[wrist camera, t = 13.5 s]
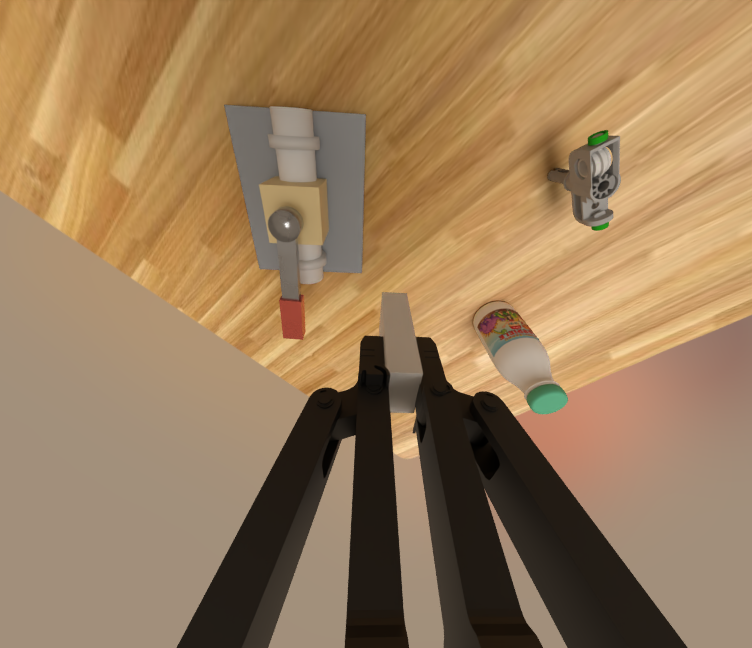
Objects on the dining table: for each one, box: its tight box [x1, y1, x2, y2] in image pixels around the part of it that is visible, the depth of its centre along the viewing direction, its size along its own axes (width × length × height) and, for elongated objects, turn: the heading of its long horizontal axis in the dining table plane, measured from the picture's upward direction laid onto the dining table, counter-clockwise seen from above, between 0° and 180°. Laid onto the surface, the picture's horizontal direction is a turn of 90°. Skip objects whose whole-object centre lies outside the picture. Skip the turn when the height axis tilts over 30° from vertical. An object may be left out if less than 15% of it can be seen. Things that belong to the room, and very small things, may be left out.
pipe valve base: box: [224, 105, 366, 284], centre depth 34 cm, size 20×16×11 cm
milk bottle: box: [473, 301, 568, 414], centre depth 43 cm, size 8×8×20 cm
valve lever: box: [268, 206, 305, 340], centre depth 32 cm, size 17×3×2 cm, turn 173°
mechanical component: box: [548, 130, 621, 231], centre depth 33 cm, size 3×10×10 cm, turn 28°
